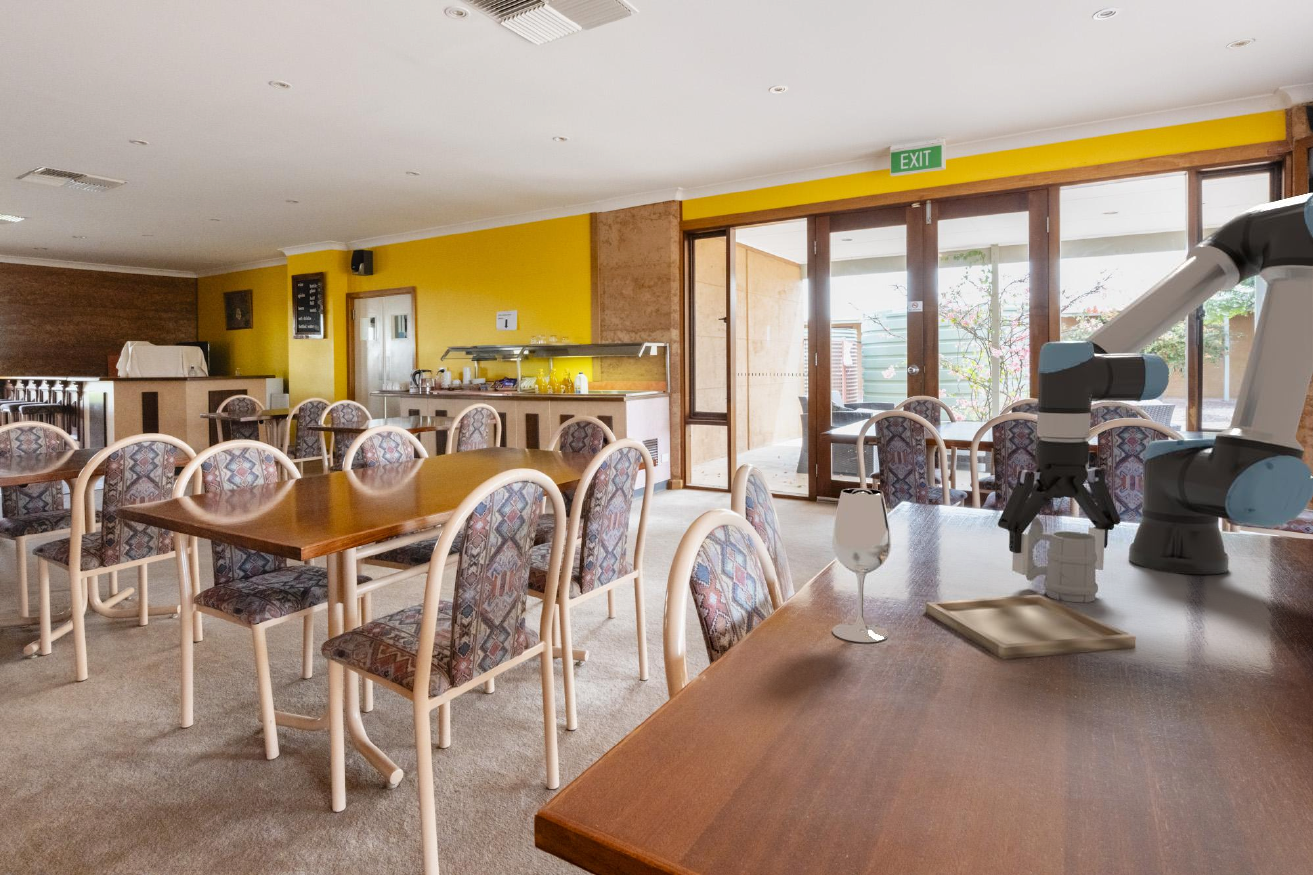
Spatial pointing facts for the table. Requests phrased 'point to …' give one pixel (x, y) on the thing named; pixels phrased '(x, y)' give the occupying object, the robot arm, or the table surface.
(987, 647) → the square serving tray
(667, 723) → the table surface
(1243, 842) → the table surface
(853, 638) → the wineglass
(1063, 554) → the mug
